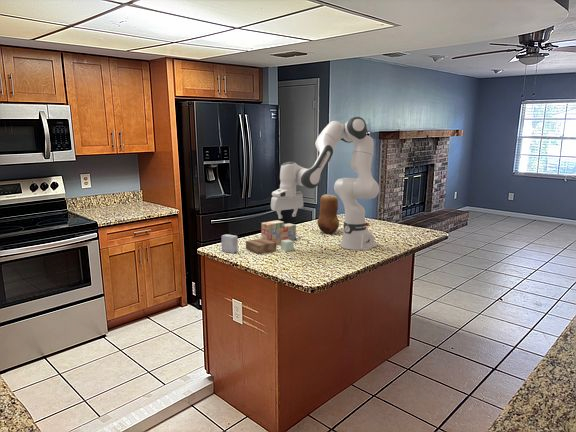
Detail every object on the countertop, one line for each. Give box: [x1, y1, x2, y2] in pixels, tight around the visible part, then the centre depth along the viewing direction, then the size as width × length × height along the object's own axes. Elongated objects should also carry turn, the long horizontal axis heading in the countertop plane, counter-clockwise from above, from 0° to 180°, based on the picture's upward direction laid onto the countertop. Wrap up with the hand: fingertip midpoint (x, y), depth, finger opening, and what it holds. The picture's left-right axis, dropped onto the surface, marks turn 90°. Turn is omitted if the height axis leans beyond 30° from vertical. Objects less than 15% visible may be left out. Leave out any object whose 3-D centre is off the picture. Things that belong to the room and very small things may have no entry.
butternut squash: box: [317, 193, 340, 235], centre depth 270 cm, size 14×13×25 cm
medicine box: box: [220, 234, 239, 254], centre depth 227 cm, size 8×4×9 cm, turn 59°
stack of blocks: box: [260, 219, 297, 245], centre depth 248 cm, size 21×6×12 cm, turn 129°
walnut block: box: [245, 237, 277, 255], centre depth 230 cm, size 12×12×5 cm
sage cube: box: [280, 240, 295, 252], centre depth 232 cm, size 5×5×5 cm
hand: (287, 217), depth 229 cm, fingers open, 8 cm apart
